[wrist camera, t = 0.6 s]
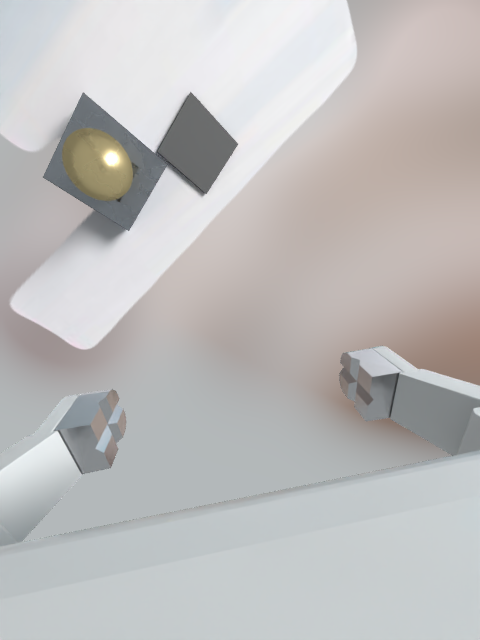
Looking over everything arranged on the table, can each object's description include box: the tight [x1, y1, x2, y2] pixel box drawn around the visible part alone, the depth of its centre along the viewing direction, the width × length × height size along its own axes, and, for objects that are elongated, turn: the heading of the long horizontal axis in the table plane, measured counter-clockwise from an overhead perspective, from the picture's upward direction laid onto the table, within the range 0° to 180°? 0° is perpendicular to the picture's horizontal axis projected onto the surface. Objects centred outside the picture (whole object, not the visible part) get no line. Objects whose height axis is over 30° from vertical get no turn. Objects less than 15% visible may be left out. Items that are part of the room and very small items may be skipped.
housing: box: [43, 93, 168, 231], centre depth 37 cm, size 12×12×5 cm
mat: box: [157, 93, 238, 194], centre depth 41 cm, size 10×10×1 cm
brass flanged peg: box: [62, 128, 133, 201], centre depth 32 cm, size 7×7×13 cm
